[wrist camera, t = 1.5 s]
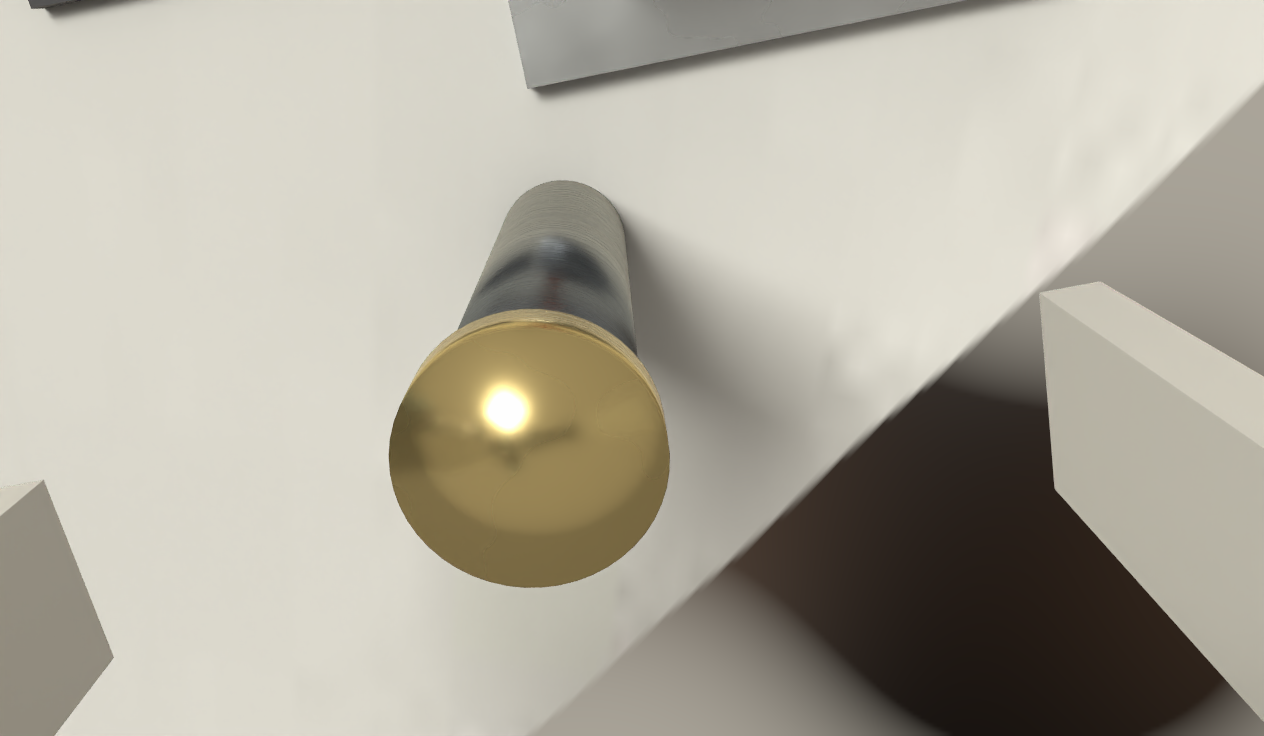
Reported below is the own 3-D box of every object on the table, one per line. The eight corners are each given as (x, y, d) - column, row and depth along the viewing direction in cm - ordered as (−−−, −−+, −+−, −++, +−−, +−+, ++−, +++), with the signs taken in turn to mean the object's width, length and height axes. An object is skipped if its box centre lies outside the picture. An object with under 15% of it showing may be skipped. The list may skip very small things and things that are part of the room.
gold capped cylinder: (507, 325, 29) (427, 609, 16) (474, 184, 28) (355, 358, 14) (648, 298, 29) (691, 560, 16) (621, 155, 28) (641, 303, 14)
